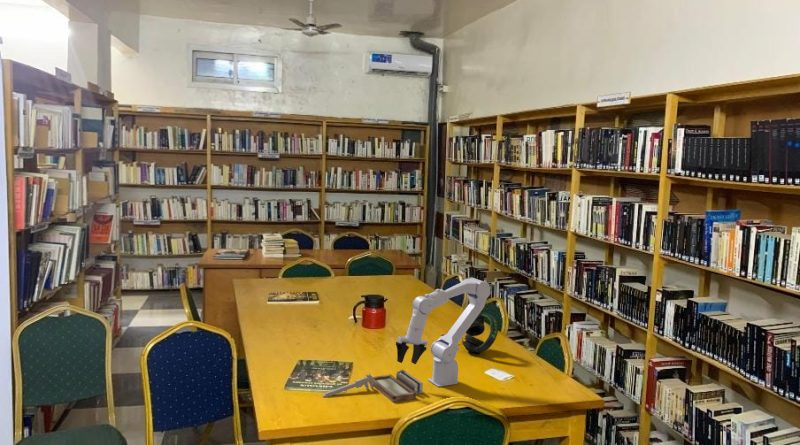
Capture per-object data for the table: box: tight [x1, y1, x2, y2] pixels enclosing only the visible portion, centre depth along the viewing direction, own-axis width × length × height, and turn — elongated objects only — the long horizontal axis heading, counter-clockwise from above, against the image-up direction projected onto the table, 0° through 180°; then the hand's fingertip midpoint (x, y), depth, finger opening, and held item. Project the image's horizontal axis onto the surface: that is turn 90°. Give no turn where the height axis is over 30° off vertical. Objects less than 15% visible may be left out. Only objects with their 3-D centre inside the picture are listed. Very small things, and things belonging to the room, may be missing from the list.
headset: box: [440, 312, 499, 354], centre depth 276 cm, size 18×14×29 cm
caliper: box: [321, 372, 374, 398], centre depth 220 cm, size 20×1×6 cm, turn 121°
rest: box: [368, 374, 417, 403], centre depth 224 cm, size 9×20×2 cm, turn 28°
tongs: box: [395, 369, 424, 396], centre depth 228 cm, size 3×14×5 cm, turn 28°
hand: (406, 362), depth 226 cm, fingers open, 7 cm apart
